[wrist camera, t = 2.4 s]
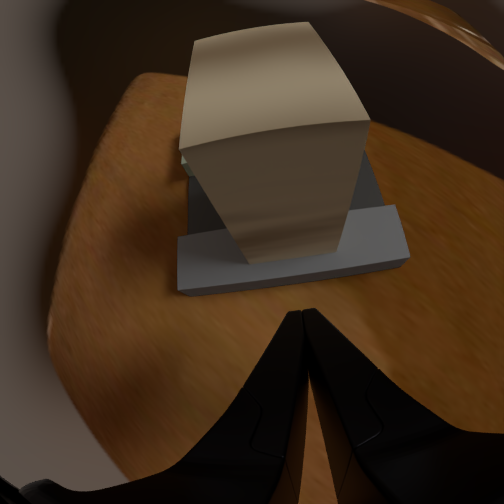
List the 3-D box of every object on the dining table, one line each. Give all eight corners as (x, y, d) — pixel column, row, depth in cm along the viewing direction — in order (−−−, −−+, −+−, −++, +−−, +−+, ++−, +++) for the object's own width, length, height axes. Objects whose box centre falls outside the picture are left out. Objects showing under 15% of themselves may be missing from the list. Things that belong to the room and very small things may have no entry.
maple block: (336, 252, 15) (370, 119, 6) (249, 264, 16) (178, 149, 7) (313, 156, 18) (308, 22, 8) (241, 167, 18) (194, 41, 9)
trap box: (400, 267, 16) (410, 257, 14) (190, 296, 18) (177, 290, 16) (344, 108, 21) (345, 91, 20) (193, 132, 23) (185, 117, 21)
